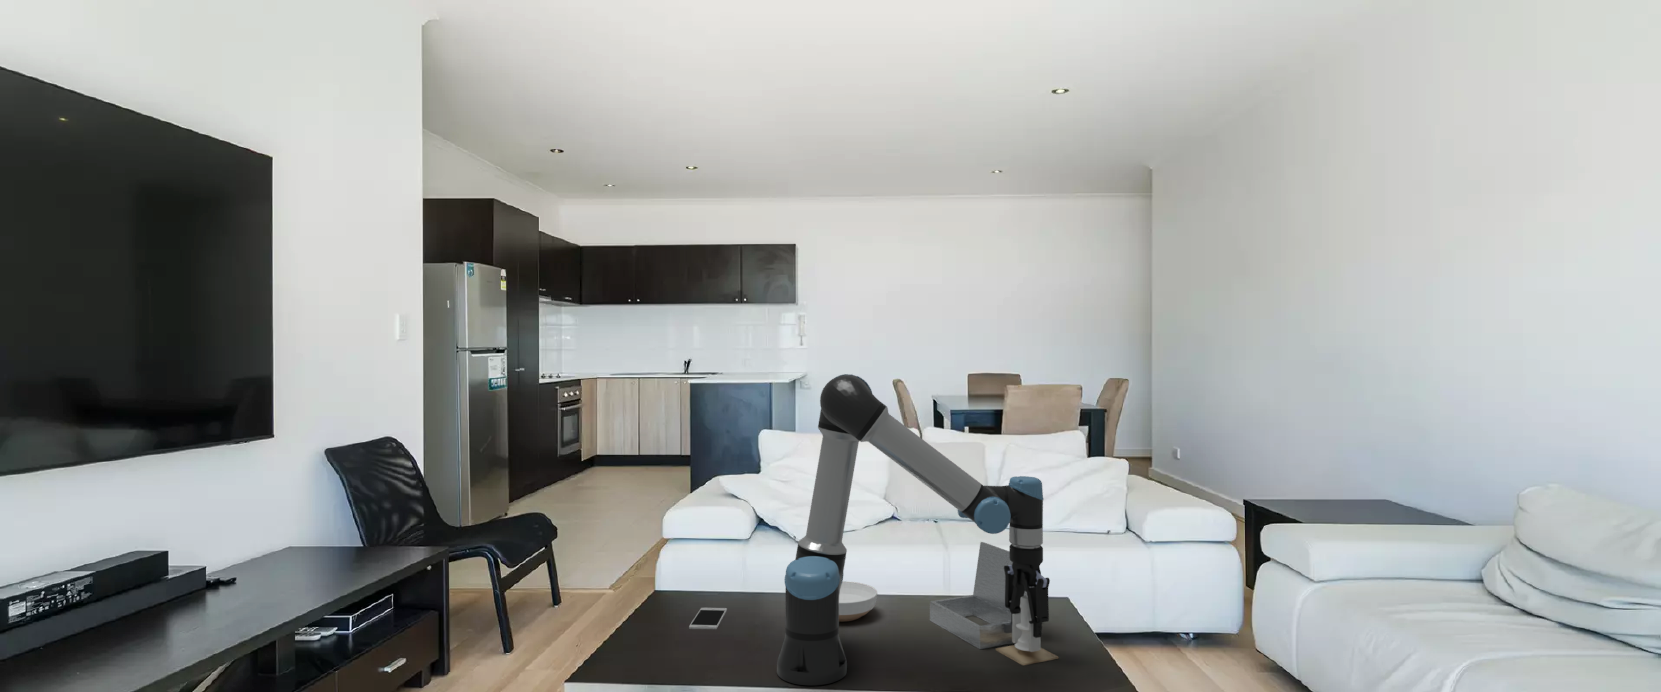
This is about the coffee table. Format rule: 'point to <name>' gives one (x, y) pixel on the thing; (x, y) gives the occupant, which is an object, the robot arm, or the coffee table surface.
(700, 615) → the smartphone
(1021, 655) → the mat
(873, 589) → the bowl
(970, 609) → the case
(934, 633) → the coffee table surface
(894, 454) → the robot arm
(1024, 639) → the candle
